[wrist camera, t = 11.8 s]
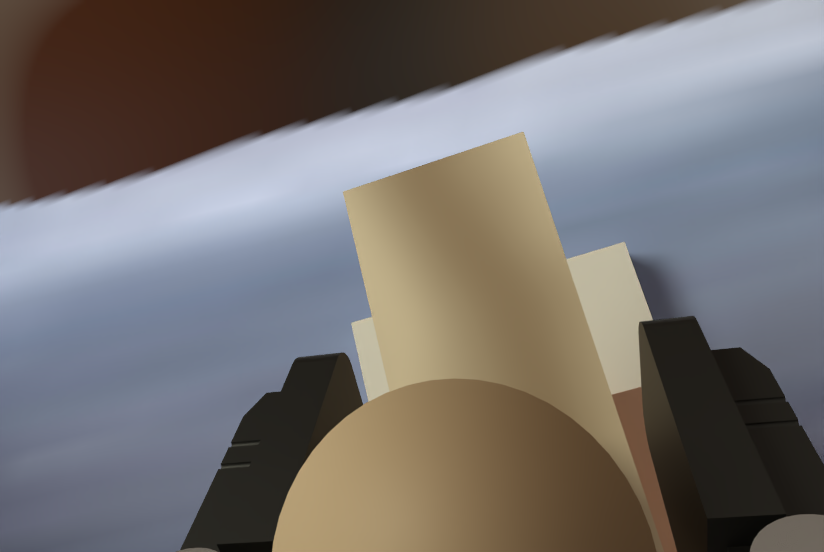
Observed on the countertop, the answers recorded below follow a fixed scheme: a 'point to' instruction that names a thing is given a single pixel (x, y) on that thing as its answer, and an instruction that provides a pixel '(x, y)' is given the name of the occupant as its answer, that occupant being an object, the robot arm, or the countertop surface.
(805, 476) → the robot arm
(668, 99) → the countertop surface
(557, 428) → the bar
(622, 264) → the stand
